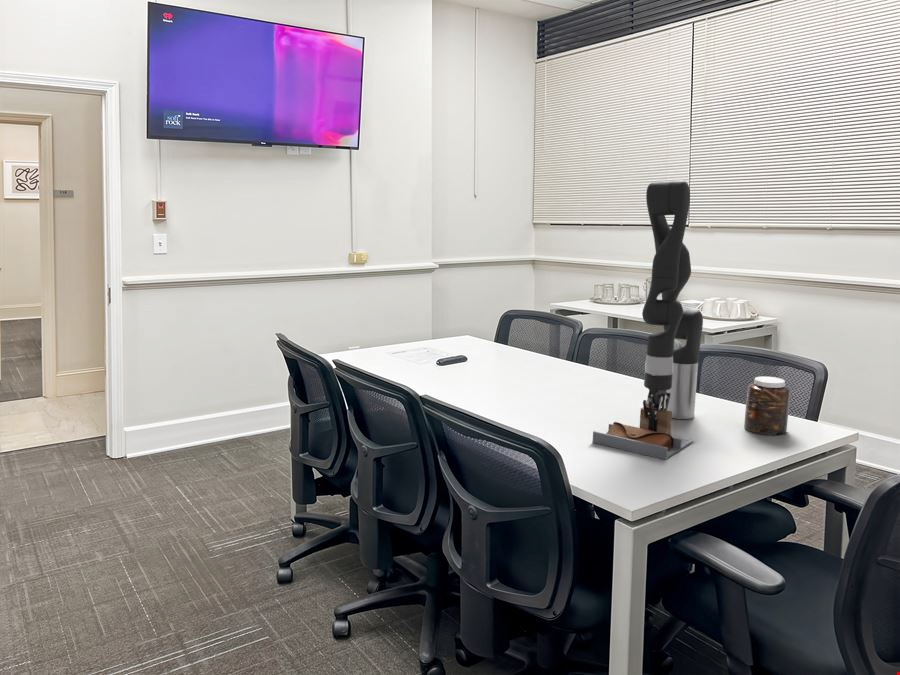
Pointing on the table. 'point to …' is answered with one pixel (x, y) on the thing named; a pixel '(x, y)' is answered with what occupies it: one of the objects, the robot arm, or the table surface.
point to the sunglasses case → (641, 435)
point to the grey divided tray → (642, 447)
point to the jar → (767, 406)
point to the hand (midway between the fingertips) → (654, 430)
